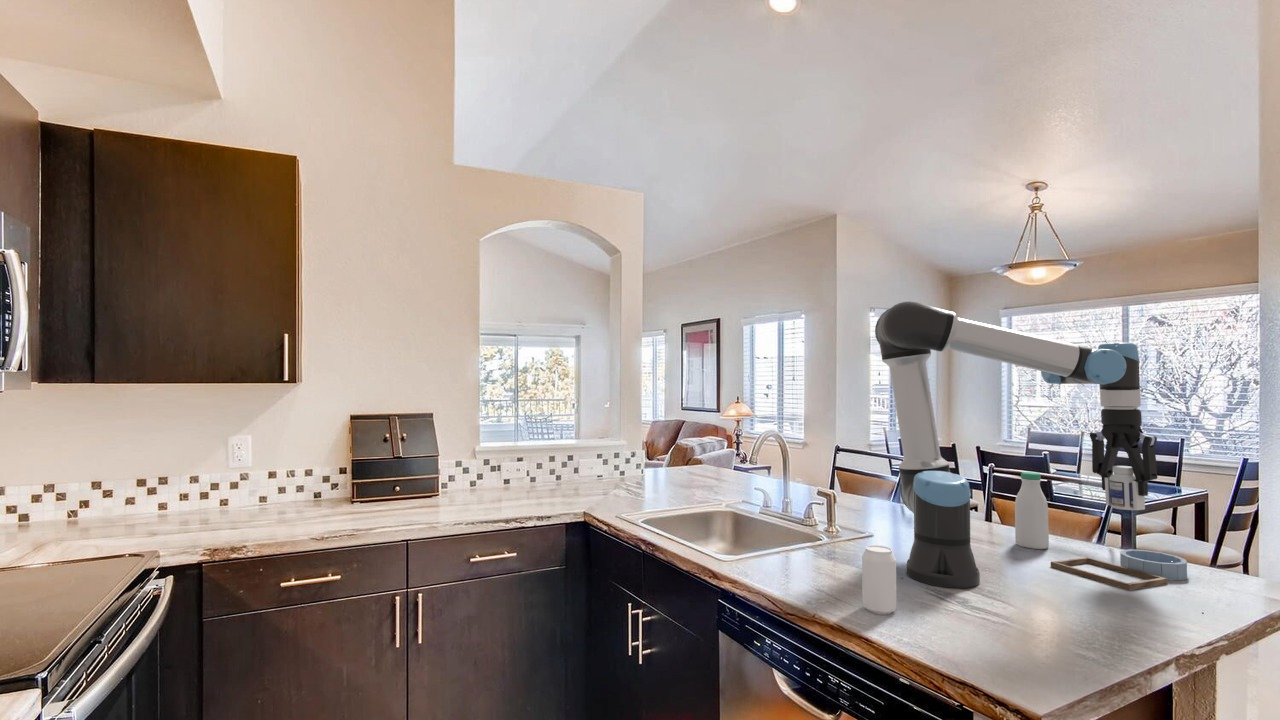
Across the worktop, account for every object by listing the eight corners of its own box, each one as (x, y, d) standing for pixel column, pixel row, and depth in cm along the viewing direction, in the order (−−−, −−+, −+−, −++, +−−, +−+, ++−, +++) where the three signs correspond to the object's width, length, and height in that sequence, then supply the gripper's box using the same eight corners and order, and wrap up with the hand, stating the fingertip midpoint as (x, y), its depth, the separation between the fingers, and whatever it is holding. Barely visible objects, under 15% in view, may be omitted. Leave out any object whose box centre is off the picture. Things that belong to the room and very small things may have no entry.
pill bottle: (1135, 507, 145) (1134, 465, 145) (1142, 511, 140) (1141, 468, 141) (1107, 505, 147) (1106, 464, 148) (1113, 509, 143) (1112, 467, 143)
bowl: (1165, 582, 138) (1165, 566, 138) (1109, 567, 149) (1108, 552, 149) (1199, 576, 142) (1199, 561, 142) (1141, 562, 153) (1141, 547, 153)
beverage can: (894, 618, 116) (893, 554, 116) (860, 612, 119) (859, 550, 119) (898, 608, 121) (897, 547, 122) (865, 602, 124) (864, 542, 125)
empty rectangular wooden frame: (1129, 590, 132) (1129, 584, 132) (1050, 566, 149) (1050, 561, 149) (1167, 583, 137) (1167, 578, 137) (1086, 561, 153) (1086, 556, 153)
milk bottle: (1054, 550, 163) (1052, 475, 164) (1022, 549, 165) (1020, 474, 165) (1041, 543, 171) (1040, 471, 171) (1010, 541, 172) (1009, 470, 173)
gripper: (1175, 409, 137) (1181, 513, 136) (1092, 406, 155) (1096, 499, 154) (1153, 410, 135) (1158, 516, 134) (1070, 407, 152) (1074, 501, 151)
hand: (1125, 506), depth 144 cm, fingers closed on pill bottle, 5 cm apart
